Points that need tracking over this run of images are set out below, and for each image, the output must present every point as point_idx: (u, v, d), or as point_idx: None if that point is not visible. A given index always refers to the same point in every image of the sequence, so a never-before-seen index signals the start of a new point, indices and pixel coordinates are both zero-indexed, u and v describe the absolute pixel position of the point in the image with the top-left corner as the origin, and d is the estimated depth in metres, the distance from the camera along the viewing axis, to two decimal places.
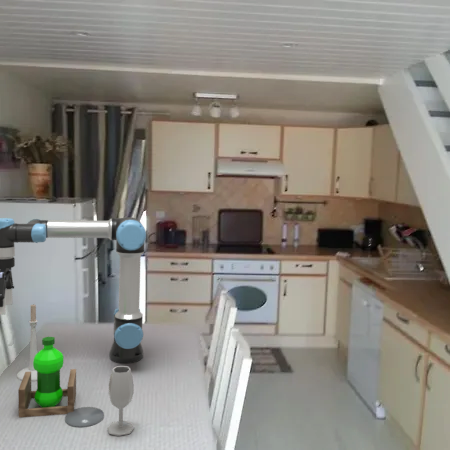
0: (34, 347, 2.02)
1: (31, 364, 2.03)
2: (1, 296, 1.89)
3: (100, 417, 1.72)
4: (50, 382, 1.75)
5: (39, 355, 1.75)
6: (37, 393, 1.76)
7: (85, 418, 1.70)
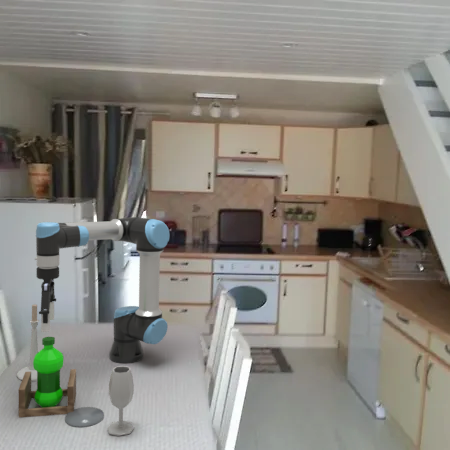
0: (35, 347, 2.02)
1: (31, 364, 2.03)
2: (46, 311, 1.66)
3: (100, 417, 1.72)
4: (50, 382, 1.75)
5: (39, 355, 1.75)
6: (37, 393, 1.76)
7: (85, 418, 1.70)
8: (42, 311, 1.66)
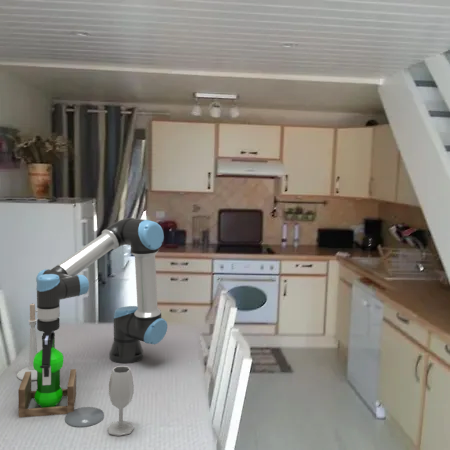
0: (33, 346, 2.03)
1: (31, 363, 2.03)
2: (47, 366, 1.69)
3: (100, 417, 1.72)
4: None
5: (39, 355, 1.75)
6: (37, 393, 1.76)
7: (85, 418, 1.70)
8: (43, 366, 1.69)
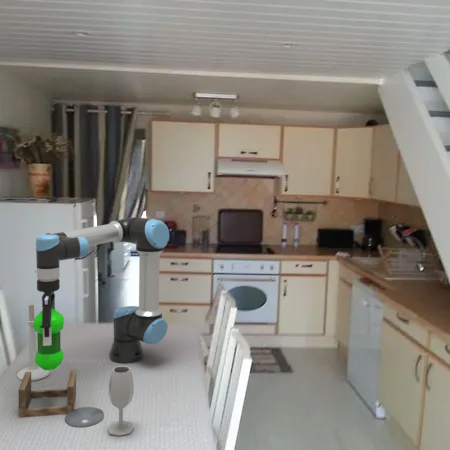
0: (33, 347, 2.02)
1: (30, 364, 2.03)
2: (48, 325, 1.68)
3: (100, 417, 1.72)
4: (51, 343, 1.74)
5: (39, 316, 1.73)
6: (37, 354, 1.75)
7: (85, 418, 1.70)
8: (43, 325, 1.68)
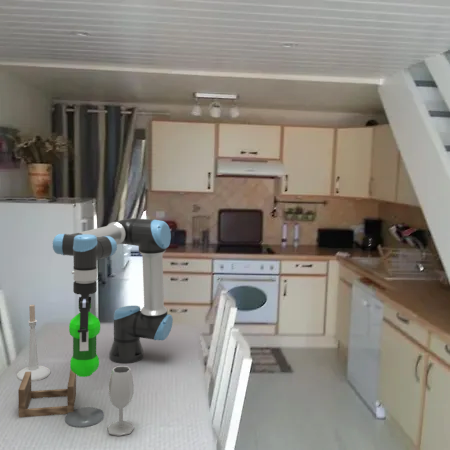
0: (33, 347, 2.02)
1: (30, 364, 2.03)
2: (85, 330, 1.60)
3: (100, 417, 1.72)
4: None
5: (75, 320, 1.65)
6: (73, 360, 1.67)
7: (85, 418, 1.70)
8: (81, 330, 1.59)
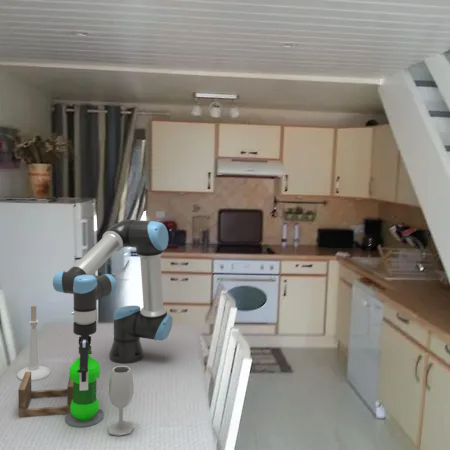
0: (34, 347, 2.02)
1: (30, 364, 2.03)
2: (85, 370, 1.60)
3: (100, 417, 1.72)
4: (87, 393, 1.67)
5: (75, 365, 1.66)
6: (73, 404, 1.68)
7: None
8: (81, 370, 1.60)
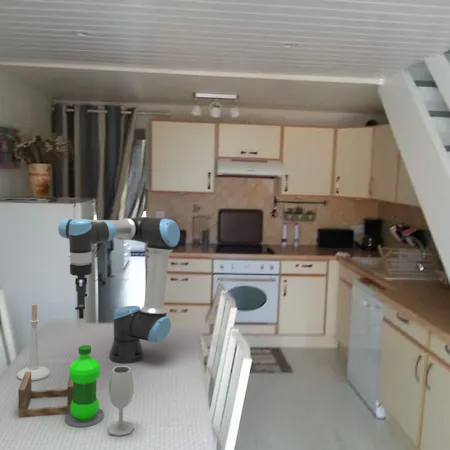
0: (34, 346, 2.03)
1: (30, 363, 2.03)
2: (83, 307, 1.70)
3: (100, 417, 1.72)
4: (87, 393, 1.67)
5: (75, 365, 1.66)
6: (73, 404, 1.68)
7: None
8: (79, 307, 1.69)
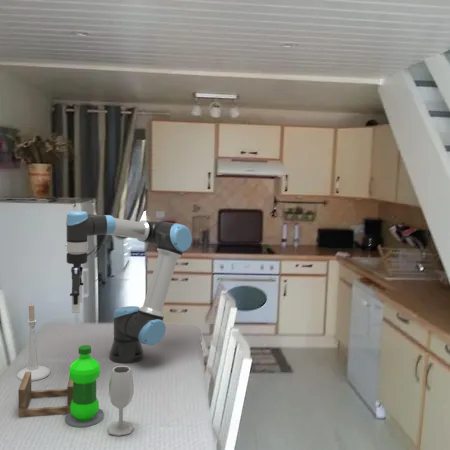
0: (32, 347, 2.02)
1: (30, 364, 2.03)
2: (77, 293, 1.79)
3: (100, 417, 1.72)
4: (87, 393, 1.67)
5: (75, 365, 1.66)
6: (73, 404, 1.68)
7: None
8: (73, 293, 1.79)
